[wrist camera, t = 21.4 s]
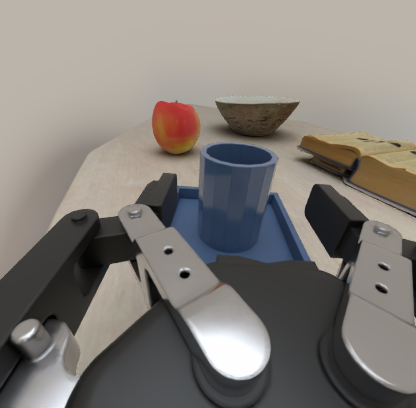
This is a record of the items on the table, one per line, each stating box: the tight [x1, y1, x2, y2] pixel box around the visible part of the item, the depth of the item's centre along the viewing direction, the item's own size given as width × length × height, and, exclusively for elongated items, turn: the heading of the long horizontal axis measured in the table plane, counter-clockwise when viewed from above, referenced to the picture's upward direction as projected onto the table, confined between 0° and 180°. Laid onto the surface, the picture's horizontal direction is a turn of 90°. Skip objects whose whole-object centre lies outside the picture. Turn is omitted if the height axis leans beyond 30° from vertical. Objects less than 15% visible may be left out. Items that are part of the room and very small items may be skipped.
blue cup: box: [198, 142, 278, 253], centre depth 19 cm, size 6×6×8 cm
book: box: [297, 132, 416, 216], centre depth 36 cm, size 25×17×6 cm, turn 24°
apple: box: [152, 101, 200, 154], centre depth 42 cm, size 10×10×10 cm
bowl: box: [215, 96, 299, 136], centre depth 62 cm, size 24×24×10 cm
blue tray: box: [171, 186, 311, 264], centre depth 22 cm, size 13×13×2 cm
